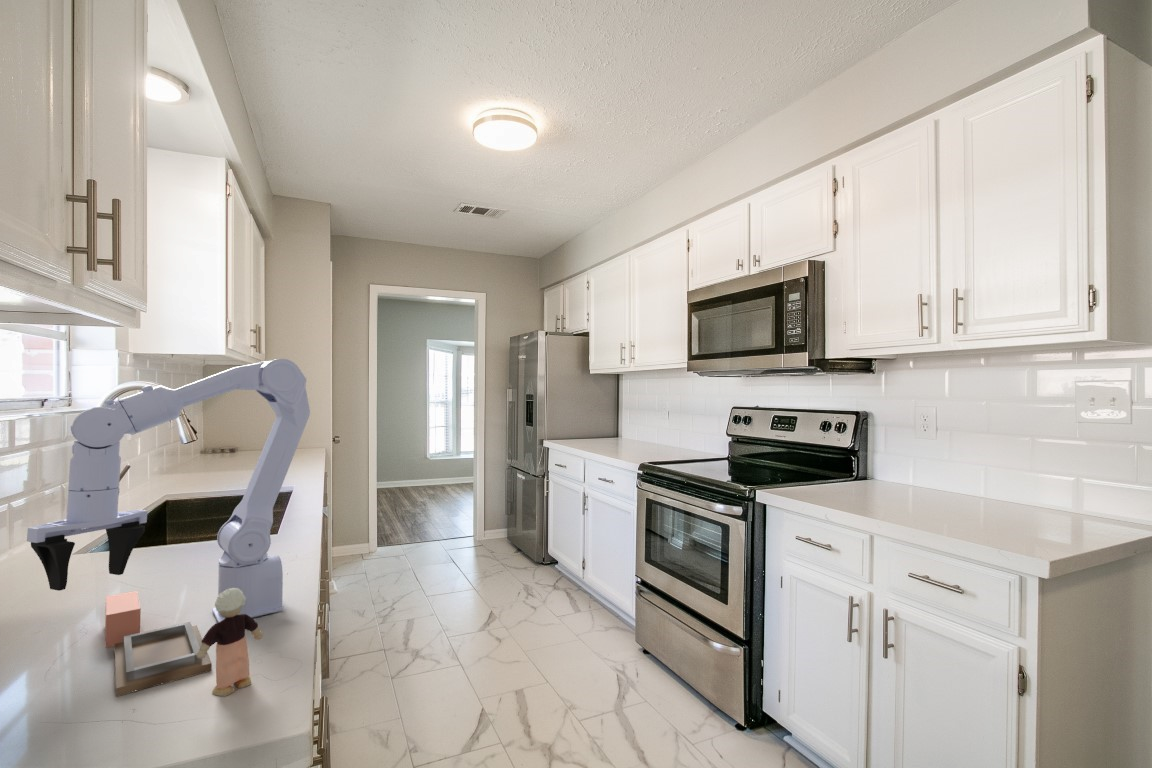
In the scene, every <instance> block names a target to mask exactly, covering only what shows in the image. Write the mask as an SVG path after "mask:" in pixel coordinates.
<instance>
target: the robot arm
mask: <svg viewBox="0 0 1152 768" xmlns="http://www.w3.org/2000/svg"><path fill="white" fill-rule="evenodd" d="M306 384H307V377H305V375H304V374H303V372H302V370H301V369H300V367H299V366H298V364H296V363H295V362H294V361H292V360H290V359H288V358H276V359H273V360H262V361H260V362H257V363H256V362H255V363H251V364H246V365H240V366H234V367H231V368H229V369H226V370H223V371H220V372H218V373H216V374H212V375H209V376H207V377H205V378H201V379H199V380H196V381H194V382H192V383H191V382H190V383H188V384H185V385H183V386H181V387H178V388H175V389H173V388H170V387H167V386H164V385H158V386H154V387H153V385H151V384H149V385H145V386H142V387H141V388H140V389H141V392H138V393H134V394H132V395H128V396H125V397H122V398H120V399H117V400H114V399H113V398H110V399H109V398H108V399H106V400H104V405H105V406H106V407H103V406H97V407H92V408H89V409H86V410H83V411H81V412H80V413H79V414H78V415H77V416H76V417H75V418H74V419H73V422H72V425H71V426H70V431H71V434H72V436H73V437H74V439H75V441H74V442H73V444H72V446H71V454H72V457H71V458H70V459H69V461H70V462H69V474H68V488H67V490H68V491H67V505H66V518H64V519H62V520H57V521H53V522H48V523H44V524H41V525H35V526H34V525H33V526H29V527H27V530H26V532H27V533H26V535H27V536H26V542H27V543H30V548H32V549H33V551H34V553H35V554H36V555H37V557H38V558H39V560H40V562H41V563H42V566H43V568H44V571H45V573H46V577H47V581H48V585H49V589H50V590H55V591H59V592H60V591H63V590H66V587H67V583H68V574H69V573H68V572H69V564H70V560H71V557H72V553H73V550H74V547H75V545H76V543H75V541H69V540H68V538H65V537H69V536H75V535H81V534H86V533H92V532H97V531H103V530H105V531H106V535H107V536H106V537H107V542H108V550H109V551H108V573H109V575H116V576H121V575H124V573H125V570H126V567H127V564H128V561H129V558H130V557H131V554H132V552H133V550H134V548H135V547H136V544H137V543H138V541H139V540H140V538H141V537H142V535H143V534H144V533H145V530H146V529H145V527H146V526H145V525H143V524H146V523H147V522H148V521H147V520H148V510H146V509H145V510H144V509H133V510H125V511H118V509H119V496H120V495H119V494H120V477H121V462H122V461H121V460H122V457H121V456H120V448H121V447H120V443H121V442H120V441H121V440H122V439H123V437H125V434H128V435H131V436H133V435H136V434H139V433H141V432H144V431H147V430H150V429H153V428H155V427H158V426H160V425H162V424H165V423H169V422H171V421H173V420H176V419H178V418H179V417H180V415H181V413H182V410H183V409H184V408H185V407H188V406H191V405H193V404H197V403H199V402H203V401H206V400H208V399H211V398H214V397H217V396H221V395H223V394H226V393H228V392H231V391H235V390H242V391H243V390H244V391H256V392H257V393H258V394H259V395H260V396H261V397H263V398H264V399H265V400H266V401H267V403H268V404H269V406H270V408H272V410H273V412H274V414H275V419H274V421H273V423H272V426H271V429H270V431H269V433H268V436H267V439H266V441H265V443H264V445H263V448H262V451H261V453H260V455H259V458H258V460H257V463H256V465H255V468H254V470H253V473H252V474H251V477H250V479H249V481H248V484H247V487H246V490H245V492H244V494H243V496H242V499H241V500H240V502H239V503H238V504H237V505H236V506H235V508H234V509H233V511H232V514H231V516H230V517H229V519H228V520H227V521H226V522H224V524H222V526H221V527H220V528H219V530H218V532H217V535H216V536H217V537H216V542H217V544H218V546H219V547H220V549H221V550H222V551H223V553H222V555H221V557H220V558H219V559H218V578H217V579H218V581H217V582H218V583H217V585H218V588H217V589H218V591H217V592H218V593H217V595H218V596H219V594H220V593H222V592H223V591H225V590H226V589H231V588H238V589H240V590H241V591H242V592H243V594H244V596H245V597H246V600H245V604H244V605H243V606H242V609H241V611H240V612H239V613H238V614H237V615H240V614H247V615H248V616H250V617H251V618H252V619H253V618H257V617H261V616H266V615H269V614H273V613H279V612H282V611H283V610H284V606H283V585H284V582H283V578H284V576H283V575H284V573H283V563H282V559H281V557H280V555H276V554H275V555H268V551H269V550H270V547H271V544H272V542H271V540H272V539H271V530H272V526H273V523H274V507H275V503H276V501H277V498H278V496H279V494H280V491H281V490H282V487H283V484H284V481H285V479H286V477H287V474H288V471H289V468H290V466H291V464H292V461H293V458H294V456H295V453H296V451H297V448H298V446H299V443H300V441H301V438H302V435H303V433H304V430H305V428H306V425H307V423H308V420H309V418H310V414H311V410H310V404H309V399H308V393H307V389H306V386H307V385H306ZM218 596H217V597H218ZM211 610H212V614H213V615H214V618H215V619H216V623H218V622H220V621H222V620H224V619H225V617H222V616H221V615H220V613H219V612H218V611H217V610H216V607H215V606H214V607H213V608H212V609H211Z"/></svg>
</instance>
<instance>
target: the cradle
mask: <svg viewBox="0 0 1152 768" xmlns="http://www.w3.org/2000/svg"><path fill="white" fill-rule="evenodd" d="M202 640H203V637H202V635H201V633H200V629H199V627H198V625H193V626H192V623H191V622H190V621H188V622H183V623H179V624H173V625H169V626H165V627H164V626H163V627H161V628H156V629H152V630H148V631H142V632H141V631H140V633H137V634H132V635H128V636H124V642H120V643H116V644H115V646H114V669H115V670H114V671H115V672H114V675H115V677H114V678H115V697H119V696H123V695H127V694H130V693H129V692H131V693H133V692H132V691H134V692H136V691H135V690H138V691H141V690H140V689H142V690H144V689H145V690H146V689H148V687H149V688H152V687H151V686H153V687H155V686H154V685H156V686H159V685H158V684H160V685H162V684H161V683H164V684H167V683H170V681H171V682H174V681H177V680H182V679H185V678H189V677H192V676H197V675H200V674H205V673H207V672H208V673H209V672H211V671H212V668H213V667H212V666H213V665H212V664H213V663H212V660H211V658H210V656H209V653H208V652H207V654H206V656H205V657H204V658H202V659H199V658H197V656H196V655H197V652H198V651H199V650H200V646H201V643H202V642H201V641H202ZM166 682H167V683H166ZM126 693H127V694H126Z"/></svg>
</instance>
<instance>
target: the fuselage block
mask: <svg viewBox="0 0 1152 768" xmlns="http://www.w3.org/2000/svg"><path fill="white" fill-rule="evenodd" d="M104 620H105V622H104V623H105V624H104V625H105V627H104V629H105V630H104V631H105V633H104V634H105V649H108V648H112V647H115V644H116V643H120V642H124V636H128V635H132V634H137V633H141V602H140V598H139V593H138V590H135V591H134V590H133V591H129V592H123V593H117V594H112V595H111V594H110V595H107V596H106V595H105V619H104Z"/></svg>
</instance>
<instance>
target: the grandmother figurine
mask: <svg viewBox="0 0 1152 768" xmlns="http://www.w3.org/2000/svg"><path fill="white" fill-rule="evenodd" d="M245 600H246V597H245V596H244V594H243V592H242V591H241V590H240V589H238V588H231V589H226V590H225V591H223V592H222V593H220V594H219V596H217V598H216V601H215V602H214V608H215V607H216V610H217V611H218V612H219V613H220V615H221V616H222V617H225V619H224V620H222V621H220V622H216V623H215V624H213V625H212V626H211V627H210V628H209V629H208V630H207V632H206V633H205V634H204V637H202V641H201V642H202V643H201V646H200V650H199V651H198V652H197V655H196V656H197V658H199V659H202V658H204V657H205V656H206V654H207V653H208V651H209V649H210V648H211V647H212V646H213V645H215V644H216V646H215V659H216V660H215V663H216V664H215V680H216V681H215V682H216V686H215V687H214V688H213V689H212V692H211V694H212V695H215V696H218V697H226V696H228V695H231V694H233V693H235V689H234V687H233V686H232V685H234V686H235V688H237V689H242V688H246V687H249V686H250V685H251V684H252V680H251V679H252V678H251V676H250V674H251V673H250V657H249V651H248V644H247V638H246V631H249V632H250V633H251V635H252V636H253V639H255V641H256V640H257V641H260V640H262V638H263V636H264V634H263V632H262V631H261V628H260V627H259V623H258V622H256V620H254V619H253V618H251V617H250V616H248V615H247V614H240V615H237V614H238V613H239V612H240V611H241V609H242V606H243V605H244V604H245Z"/></svg>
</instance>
